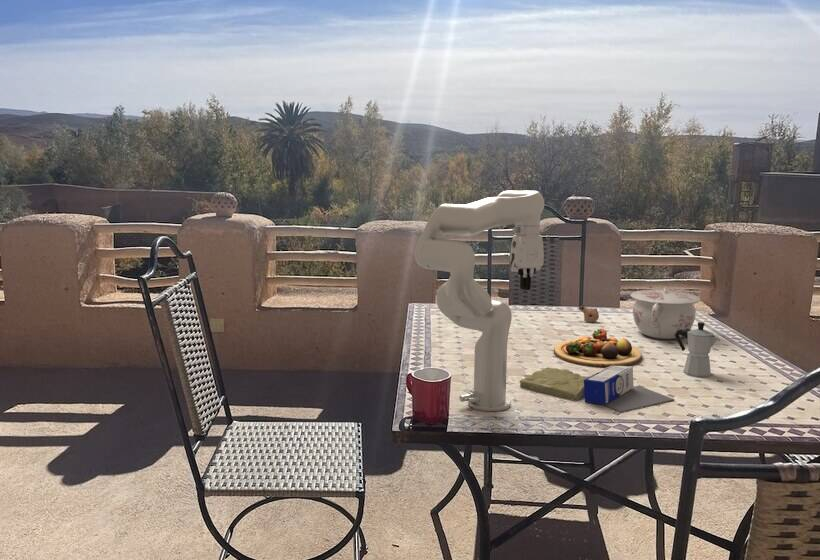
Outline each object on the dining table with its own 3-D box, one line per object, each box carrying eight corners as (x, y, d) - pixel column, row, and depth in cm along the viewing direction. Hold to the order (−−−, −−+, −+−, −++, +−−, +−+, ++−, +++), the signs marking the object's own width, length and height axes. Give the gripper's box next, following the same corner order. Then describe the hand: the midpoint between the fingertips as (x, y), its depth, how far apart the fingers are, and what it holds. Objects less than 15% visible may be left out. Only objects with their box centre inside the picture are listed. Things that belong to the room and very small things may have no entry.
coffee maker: (720, 374, 229) (725, 323, 226) (710, 380, 222) (715, 328, 219) (677, 365, 239) (681, 316, 236) (667, 370, 233) (670, 320, 230)
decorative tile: (576, 402, 203) (577, 391, 203) (519, 388, 216) (519, 377, 215) (602, 387, 217) (603, 376, 217) (547, 374, 230) (547, 364, 229)
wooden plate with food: (573, 340, 274) (573, 320, 272) (652, 352, 256) (653, 331, 254) (539, 360, 248) (540, 338, 247) (625, 375, 230) (626, 352, 229)
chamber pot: (667, 325, 297) (670, 279, 294) (712, 341, 272) (717, 291, 268) (613, 330, 289) (616, 283, 285) (655, 346, 263) (658, 295, 259)
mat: (620, 412, 194) (620, 411, 194) (587, 397, 206) (587, 396, 206) (674, 400, 204) (674, 399, 204) (639, 386, 216) (639, 385, 216)
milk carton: (604, 382, 197) (633, 366, 212) (583, 379, 202) (612, 364, 217) (605, 405, 198) (633, 388, 213) (584, 402, 203) (613, 385, 217)
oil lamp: (578, 322, 302) (578, 305, 301) (578, 320, 306) (578, 303, 305) (598, 323, 300) (599, 306, 299) (598, 321, 304) (599, 304, 302)
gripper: (514, 233, 200) (512, 293, 203) (554, 231, 207) (551, 289, 210) (500, 230, 206) (498, 289, 210) (538, 228, 213) (536, 285, 216)
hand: (525, 289), depth 210 cm, fingers closed
